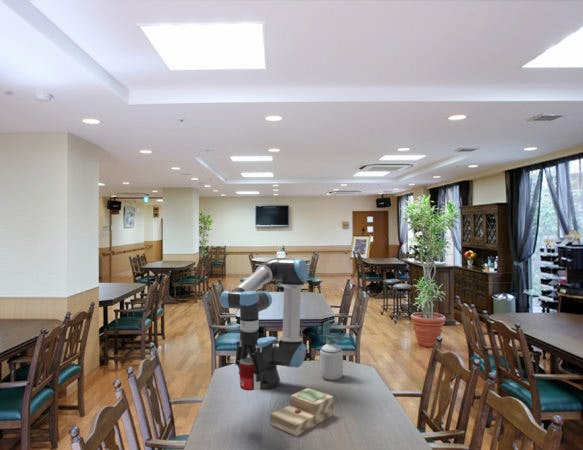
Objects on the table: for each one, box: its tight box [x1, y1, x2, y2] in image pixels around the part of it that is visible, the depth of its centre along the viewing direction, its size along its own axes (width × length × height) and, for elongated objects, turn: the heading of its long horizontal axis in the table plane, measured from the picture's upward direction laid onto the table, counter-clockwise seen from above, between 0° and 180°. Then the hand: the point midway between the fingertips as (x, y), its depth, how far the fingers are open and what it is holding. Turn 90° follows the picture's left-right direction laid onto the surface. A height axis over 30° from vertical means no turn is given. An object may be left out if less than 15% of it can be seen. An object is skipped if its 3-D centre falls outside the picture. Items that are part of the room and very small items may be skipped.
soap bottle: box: [319, 318, 344, 381], centre depth 217 cm, size 12×12×31 cm
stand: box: [269, 387, 334, 437], centre depth 168 cm, size 24×14×8 cm, turn 138°
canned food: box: [239, 356, 255, 391], centre depth 163 cm, size 8×8×11 cm
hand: (249, 386), depth 163 cm, fingers closed on canned food, 8 cm apart
